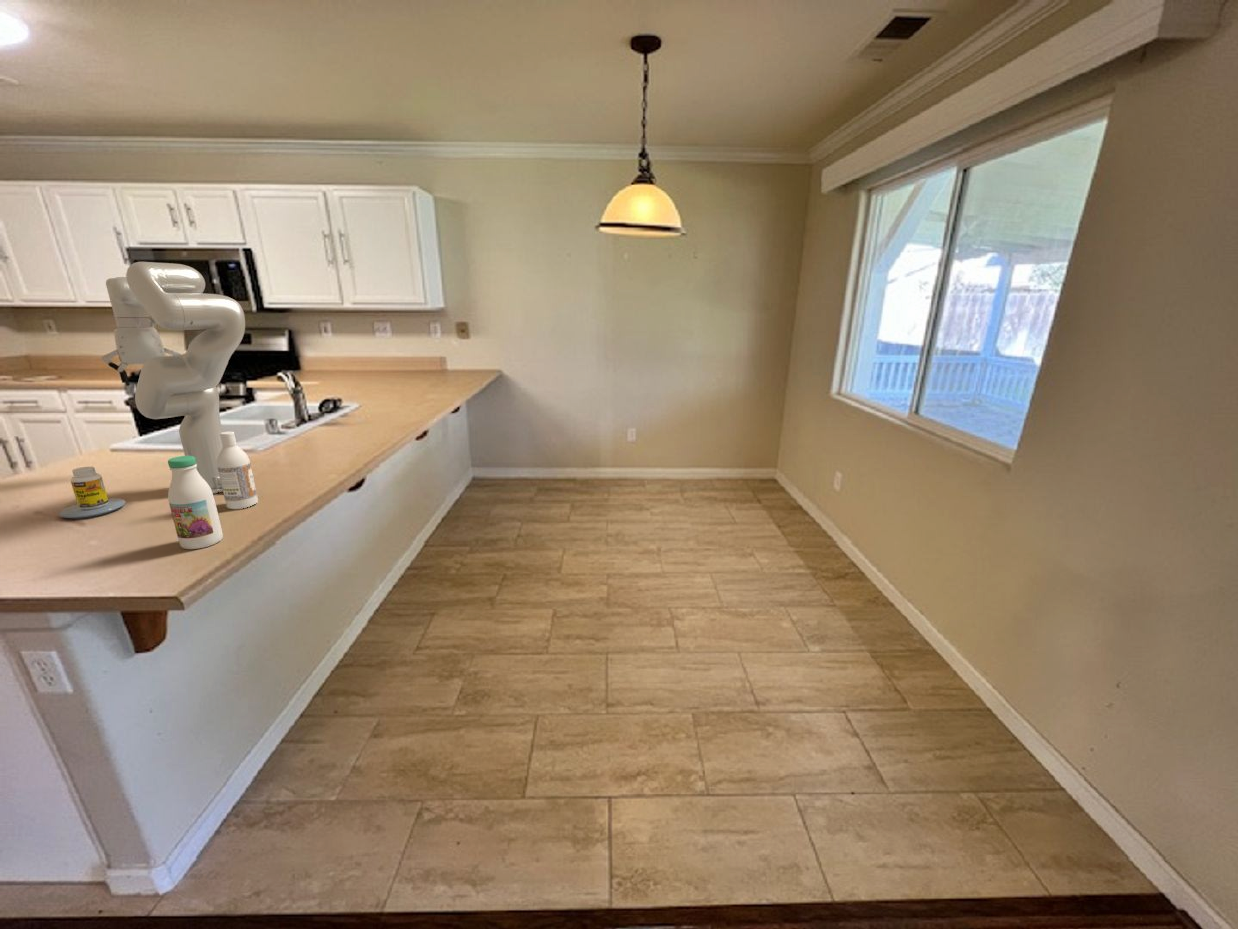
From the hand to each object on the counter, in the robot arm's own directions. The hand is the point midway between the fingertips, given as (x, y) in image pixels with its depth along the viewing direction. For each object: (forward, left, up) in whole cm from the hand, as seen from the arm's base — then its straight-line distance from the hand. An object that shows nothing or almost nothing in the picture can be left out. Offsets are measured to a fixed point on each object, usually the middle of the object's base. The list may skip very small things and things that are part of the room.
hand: (149, 383), depth 153 cm
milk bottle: (-56, +34, -29) cm, 71 cm away
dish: (-12, +28, -28) cm, 42 cm away
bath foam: (-44, +14, -29) cm, 54 cm away
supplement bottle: (-12, +28, -27) cm, 41 cm away
